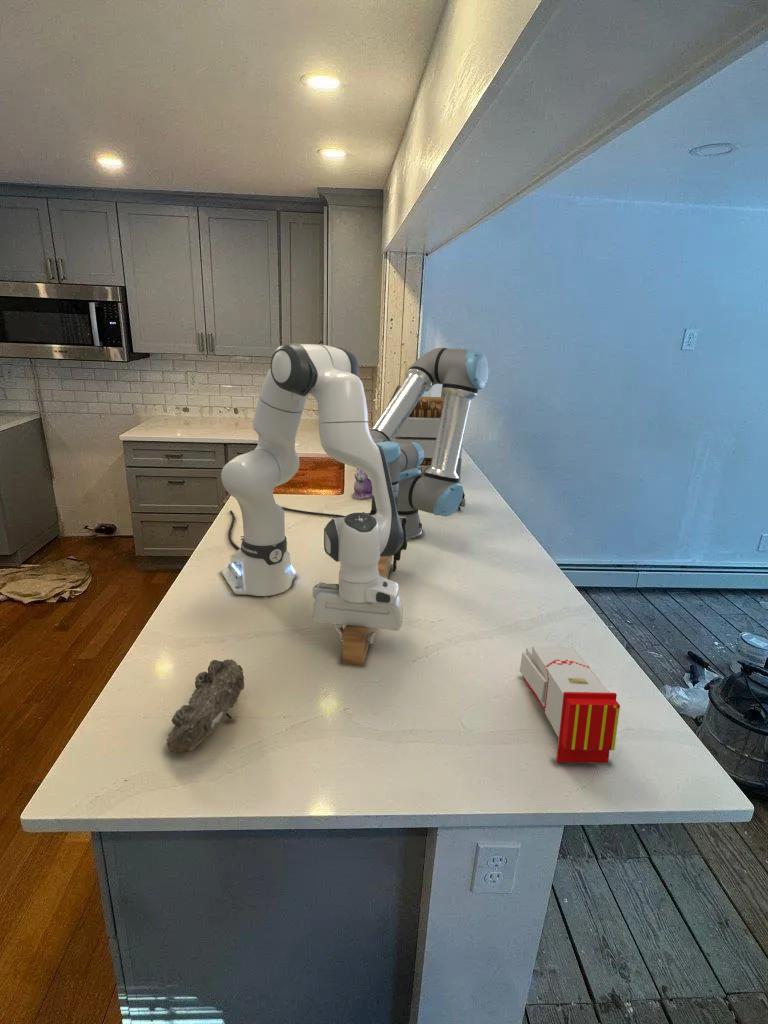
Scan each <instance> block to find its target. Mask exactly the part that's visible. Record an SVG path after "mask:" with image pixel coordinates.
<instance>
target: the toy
mask: <svg viewBox="0 0 768 1024" xmlns="http://www.w3.org/2000/svg"><path fill="white" fill-rule="evenodd" d="M525 649H526V650H525V652H522V653H521V660H520V666H519V672H520V673H521V675H522V679H523V680H524V682H525V684H526V686H527V687H528V689H529V690H530V692H531V693H532V695H533V697H534V698H535V700H536V701H537V703H538V705H540V707H541V709H542V710H543V712H544V713H545V716H546V718H547V720H548V721H549V723H550V725H551V727H552V729H553V730H554V732H555V734H556V736H557V737H558V742H557V751H556V759H555V760H556V762H557V763H575V764H576V763H577V764H578V763H579V764H581V763H583V764H585V763H586V764H592V763H593V764H608V763H609V756H610V751H615V747H616V739H617V731H618V726H619V725H618V723H619V718H620V717H619V716H620V711H621V710H620V709H621V705H620V703H619V702H618V701H617V696H618V694H617V693H616V692H610V691H609V690H608V688H607V687H606V686H605V685H604V683H603V682H602V681H601V679H600V678H599V677H598V676H597V675H596V674H595V672H594V671H593V670H592V669H591V668H590V665H588V664H587V662H586V661H585V660H584V659H583V657H582V656H581V654H579V652H578V651H577V650H576V649H575V647H574V646H545V645H544V646H543V645H542V646H540V645H535V646H534V645H532V646H531V647H530V646H526V648H525Z"/></svg>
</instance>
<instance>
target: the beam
mask: <svg viewBox="0 0 768 1024" xmlns="http://www.w3.org/2000/svg"><path fill="white" fill-rule="evenodd" d="M391 567H392V556H387V557H380V559H379V562H378V570H379V576H382V577H384V578H386V579H388V577H389V574H390V570H391ZM343 629H344V632H343V640H342V657H341V658H342V659H341V661H342V664H347V665H354V666H355V665H356V666H364V663H365V660H366V656H367V652H368V649H369V646H370V643H366V641H367V640H366V639H367V634H368V633H371V632H372V628H368V627H359V626H350V625H344V628H343Z"/></svg>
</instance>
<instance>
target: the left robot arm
mask: <svg viewBox="0 0 768 1024" xmlns="http://www.w3.org/2000/svg"><path fill="white" fill-rule="evenodd" d="M359 376H360V364H359V361H358V359H357V357H356V356H355V354H354V353H352V352H351V351H349V350H347V349H345V348H342V347H334V346H331V345H326V344H322V343H321V344H320V343H314V344H313V343H298V342H290V343H284V344H282V345H281V344H280V345H279V346H278V347H277V348H276V349H275V350H274V351H273V353H272V356H271V360H270V368H269V369H268V372H267V374H266V376H265V378H264V381H263V384H262V387H261V389H260V393H259V396H258V399H257V404H256V408H255V411H254V415H253V420H252V427H253V430H254V431H255V433H256V434H257V435H258V437H257V438H258V440H257V445H256V447H255V448H254V449H253V450H250V451H248V452H245V453H241V454H239V455H237V456H235V457H234V458H232V459H231V460H229V462H227V463H226V464H225V465H224V466H222V470H221V473H220V478H221V479H220V480H221V483H222V486H223V488H224V490H225V491H226V493H228V494H229V495H230V496H231V497H233V498H235V500H236V502H237V503H238V505H239V508H240V512H241V516H242V530H243V535H240V541H241V543H240V547H239V546H238V545H237V544H236V543H234V541H233V540H232V530H233V527H234V524H235V521H236V517H235V514H234V512H233V510H231V509H230V510H229V513H230V515H231V517H232V520H231V524H230V526H229V529H228V532H227V539H228V541H229V543H230V544H231V546H232V547H233V548H234V549H236V551H235V552H233V553H232V554H231V555H230V558H229V562H228V564H227V567H225V568H223V569H222V570H221V571H222V572H221V574H222V576H223V577H224V579H225V581H226V582H227V585H229V587H230V588H231V590H232V592H233V593H234V594H235V595H238V596H239V595H242V596H243V595H249V596H256V597H269V596H275V595H279V594H282V593H285V592H286V591H288V590H289V589H290V588H291V587H292V584H293V580H295V578H296V570H295V569H294V567H293V565H292V558H291V552H290V551H288V539H287V536H286V523H285V522H286V521H285V520H286V519H285V518H286V517H285V515H286V514H285V510H283V509H282V507H283V506H281V505H279V504H278V503H276V500H275V497H274V489H275V488H277V487H279V486H282V485H283V484H286V483H287V482H289V481H290V480H292V479H293V477H295V475H296V474H297V473H298V472H299V469H300V466H301V462H300V461H301V460H300V457H299V455H298V452H297V451H296V436H297V432H298V429H299V425H300V421H301V419H302V415H303V412H304V408H305V405H306V402H307V398H308V395H311V396H313V398H314V399H315V400H316V403H317V406H318V407H317V408H318V432H319V440H320V445H321V448H322V449H323V451H324V452H325V453H326V454H327V456H329V457H330V459H331V458H332V459H333V460H334V461H335V462H336V461H337V462H339V463H341V464H343V465H347V466H350V467H353V468H356V469H357V468H358V469H360V470H362V471H363V472H365V473H366V474H367V475H368V477H367V478H368V479H370V481H371V484H372V489H373V494H374V499H375V503H376V508H377V512H376V514H375V515H369V514H366V513H367V512H365V513H363V512H352V513H349V514H346V515H344V516H345V517H334V518H332V519H330V520H329V521H328V523H327V524H326V525H325V527H324V528H323V550H324V552H325V554H326V555H327V556H329V557H330V558H331V559H332V560H334V561H335V562H336V563H337V562H338V563H339V565H340V568H339V572H338V583H326V582H319V583H316V584H314V585H313V587H312V598H313V600H314V602H313V609H312V619H313V621H314V622H316V623H323V624H331V625H334V626H335V627H334V628H335V629H336V631H337V632H338V634H339V640H340V641H343V632H344V629H345V628H344V627H343V626H346V625H350V626H359V627H368V628H372V632H371V633H368V634H367V639H366V640H367V641H366V643H369V644H372V645H373V644H374V639H375V637H376V635H377V634H378V632H379V630H389V631H399V630H400V629H401V628H402V627H403V626H402V625H403V620H404V619H403V618H404V609H403V602H402V601H403V600H402V598H401V596H400V595H399V590H400V589H399V588H400V585H399V583H398V582H396V581H394V580H391V579H388V578H387V579H386V578H384V577H382V576H379V570H378V562H379V559H380V557H387V556H391V557H394V554H395V553H396V552H397V551H398V550H399V549H400V548H401V546H402V544H403V541H404V535H403V529H402V525H401V522H400V519H399V515H398V512H397V508H396V503H395V498H394V493H393V488H392V483H391V478H390V473H389V468H388V464H387V460H386V457H385V454H384V451H383V449H382V448H381V446H379V445H377V444H375V442H374V441H373V439H372V437H371V434H370V428H369V411H368V404H367V397H366V392H365V388H364V384H363V381H362V379H361V378H360V377H359Z"/></svg>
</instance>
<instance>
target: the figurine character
mask: <svg viewBox="0 0 768 1024" xmlns="http://www.w3.org/2000/svg"><path fill="white" fill-rule="evenodd" d="M465 496H466V494H465V492H464V490H463V496H462V500H461V502H460V505H459V507H458V508H457V510H458V511H461V510H462V509H461V508H465V505H466V497H465Z"/></svg>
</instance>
